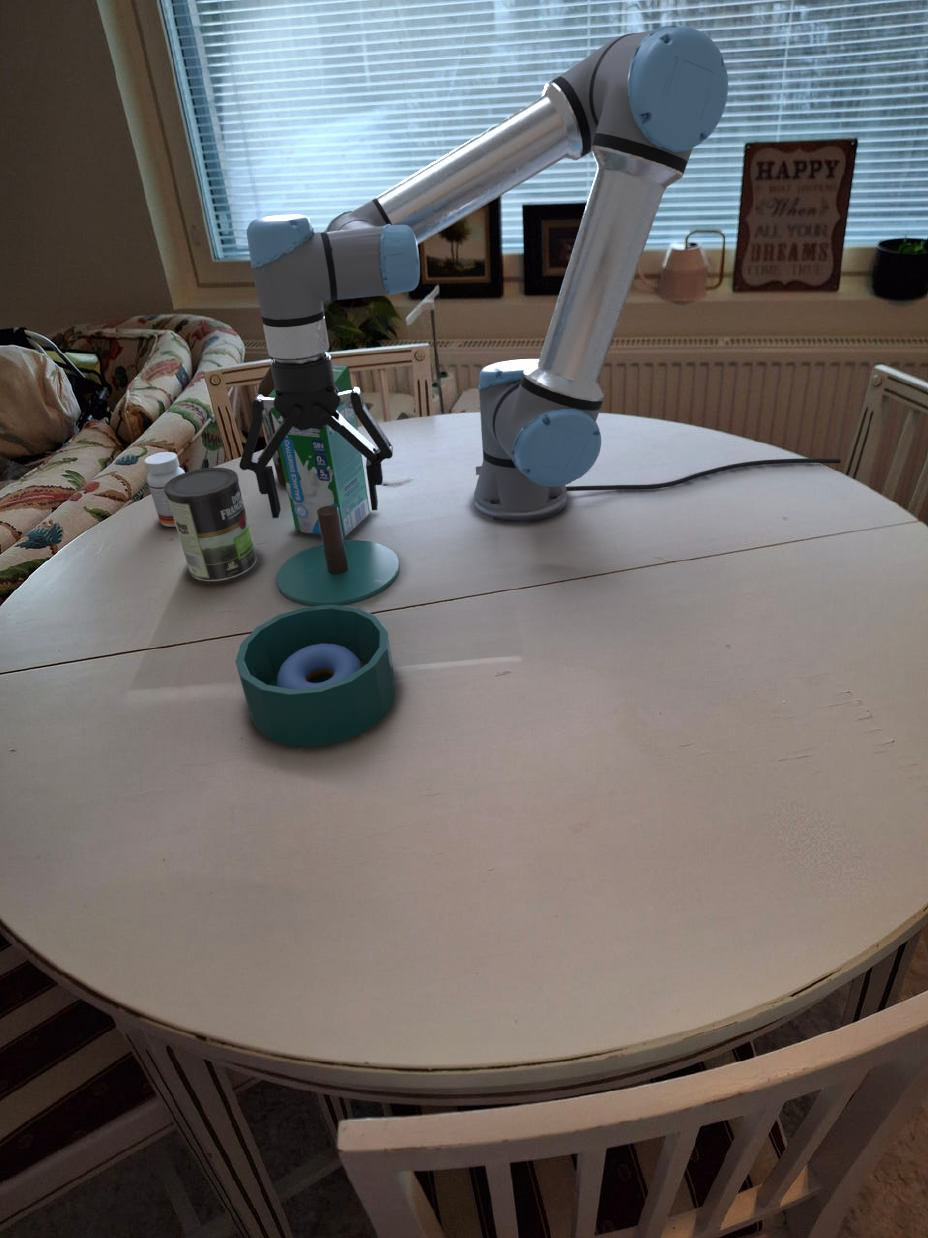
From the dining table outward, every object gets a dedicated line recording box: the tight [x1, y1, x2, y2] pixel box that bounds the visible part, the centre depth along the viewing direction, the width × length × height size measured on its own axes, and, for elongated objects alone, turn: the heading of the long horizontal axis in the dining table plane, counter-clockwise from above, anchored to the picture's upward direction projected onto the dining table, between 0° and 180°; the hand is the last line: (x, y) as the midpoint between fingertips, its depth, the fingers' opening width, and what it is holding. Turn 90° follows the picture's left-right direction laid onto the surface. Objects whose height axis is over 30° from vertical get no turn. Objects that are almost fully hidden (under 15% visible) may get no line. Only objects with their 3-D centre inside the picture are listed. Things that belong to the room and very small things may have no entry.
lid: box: [276, 506, 400, 606], centre depth 114 cm, size 18×18×11 cm
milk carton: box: [268, 364, 371, 539], centre depth 124 cm, size 9×9×25 cm
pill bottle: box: [143, 451, 186, 528], centre depth 134 cm, size 6×6×11 cm
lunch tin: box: [235, 604, 396, 748], centre depth 92 cm, size 17×17×8 cm
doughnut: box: [276, 644, 363, 689], centre depth 92 cm, size 10×10×5 cm
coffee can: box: [164, 467, 257, 582], centre depth 118 cm, size 10×10×14 cm
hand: (325, 510), depth 111 cm, fingers open, 13 cm apart
